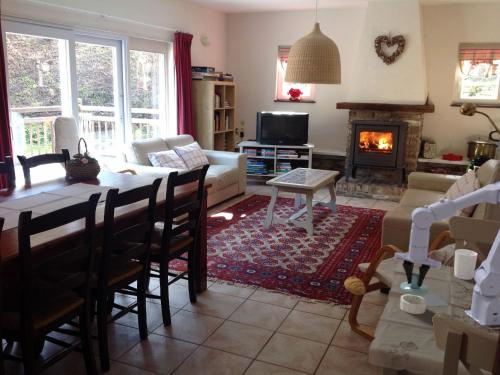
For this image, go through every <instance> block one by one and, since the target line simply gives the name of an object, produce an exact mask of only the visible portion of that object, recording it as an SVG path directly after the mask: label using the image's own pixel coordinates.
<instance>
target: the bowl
mask: <svg viewBox="0 0 500 375" xmlns="http://www.w3.org/2000/svg"><path fill="white" fill-rule="evenodd" d="M399 300H400V301H399V308H400V310H402V311H403V312H405V313H409V314H410V315H411V314H413V315H422V314H425V312H426V308H427V307H426V300H425V299H424V298H423V297H420V296H417V295H411V294H408V293H405V294H403V295H400V299H399Z"/></svg>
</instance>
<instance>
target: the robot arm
mask: <svg viewBox="0 0 500 375" xmlns="http://www.w3.org/2000/svg"><path fill="white" fill-rule="evenodd" d="M481 203H489V204H493V205H497V203H498V204H499V205H500V180H499V181H497V182H495V183H489V184H488V185H485V186H483V187H481V188H478V189H476V190H474V191H472V192H469V193H467V194H465V195H462V196H460V197H457V198H455V199H450V198H443V197H442V198H439V199H438V201H437V202H435V203H431V204H429V205H428V204H425V205H424V207H417V208H415V209H414V210H413V211H412V212H411V214H410V218H411V220H412V223H411V227H410V228H411V229H410V237H409V245H408V253H403V252H394V257H393V260H397V261H398V260H399V261H403V262H402V267H403V270H404V271H405V275H406V280H407V281H408V284H410V283H411V274H412V273H414V272H413V271H414V265H415V264H416V265H420V266H419V268H418V271H419V272H418V274H419V282H418V287H421V286H422V283H423V284H424V280H425V278H426V276H427V273H428V272H429V270H430V269H431V268H435V269H436V270H440V269H441V268H442V262H441V261H438V260H435V259H432V258H430V257H428V252H429V251H428V250H429V242H430V234H431V232H430V229H431V227H432V225H433V223H438V222H440V221H442V220H446V219H448V218H451V217H454V216H456V214H457V212H458V210H462V209H465V208H469V207H473V206H474V205H475V206H476V205H477V204H481ZM473 280H474V281H475V285H474V286H473V292H472V298H471V299H472V300H471V306H470V307H471V308H470V309H469V310H464V313H465V314H467V315H468V316H469V317H470V318H471V319H473V320H474V321H475V322H476V323H478V324H479V325H481V326H498V325H500V229H499V230H498V232H497V235H496V237H495V238H494V241H493V243H492V246H491V249H490V250H489V252H488V255H487V257H486V259H485V260H484V261H482V262H481V264H480V266H479V267H478V268H477V269H475V270H474V274H473ZM407 281H406V282H407Z"/></svg>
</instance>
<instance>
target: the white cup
mask: <svg viewBox="0 0 500 375" xmlns="http://www.w3.org/2000/svg"><path fill="white" fill-rule="evenodd" d="M477 259H478V253H477V252H475V251H473V250H471V249H465V248H462V249H461V248H459V249H456V250H455V251H454V267H453V268H454V269H453V270H454V274H453V276H454V277H455V278H457V279H459V280H465V281H470V280H471V281H472V279H473V280H474V277H473V276H474V272H475V271H476V264H477Z"/></svg>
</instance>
